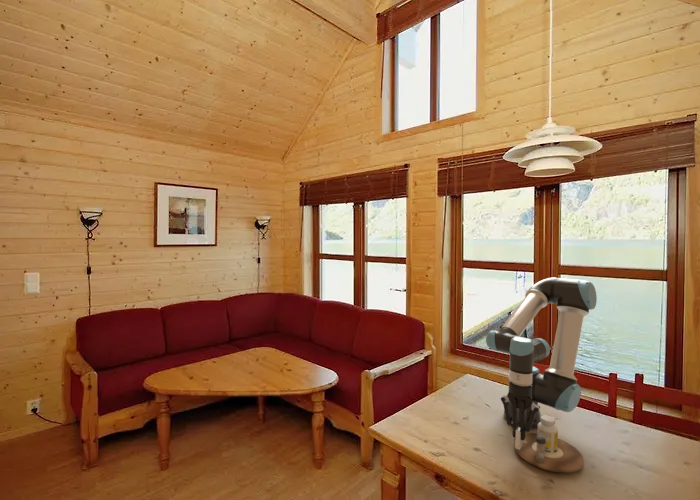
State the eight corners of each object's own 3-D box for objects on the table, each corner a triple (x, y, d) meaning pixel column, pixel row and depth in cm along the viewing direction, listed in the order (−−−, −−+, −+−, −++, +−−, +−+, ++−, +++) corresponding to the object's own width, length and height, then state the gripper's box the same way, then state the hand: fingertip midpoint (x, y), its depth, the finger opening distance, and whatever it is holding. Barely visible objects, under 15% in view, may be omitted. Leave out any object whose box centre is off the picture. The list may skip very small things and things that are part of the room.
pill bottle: (555, 446, 134) (556, 415, 133) (559, 456, 127) (560, 424, 127) (535, 442, 136) (536, 412, 135) (538, 452, 129) (539, 421, 129)
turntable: (505, 453, 131) (506, 429, 130) (524, 429, 147) (525, 407, 147) (575, 481, 116) (576, 454, 116) (588, 451, 132) (589, 427, 132)
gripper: (498, 380, 130) (496, 444, 131) (537, 390, 121) (535, 459, 122) (505, 374, 135) (503, 436, 136) (543, 384, 127) (541, 450, 127)
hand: (518, 447), depth 129 cm, fingers closed
